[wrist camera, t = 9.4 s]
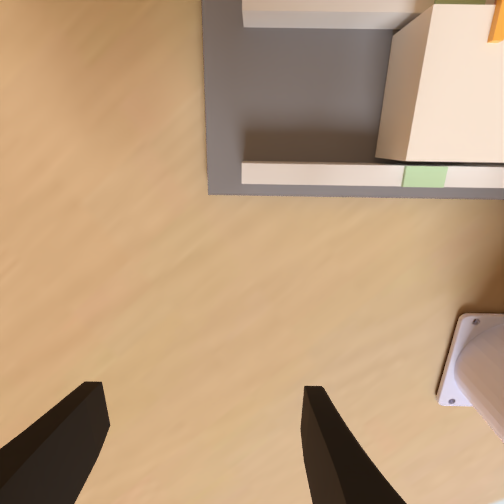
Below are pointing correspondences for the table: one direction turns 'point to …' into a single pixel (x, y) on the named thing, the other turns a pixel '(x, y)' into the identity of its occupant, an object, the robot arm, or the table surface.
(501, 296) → the table surface
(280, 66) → the gauge base
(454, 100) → the gauge carriage
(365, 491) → the robot arm
